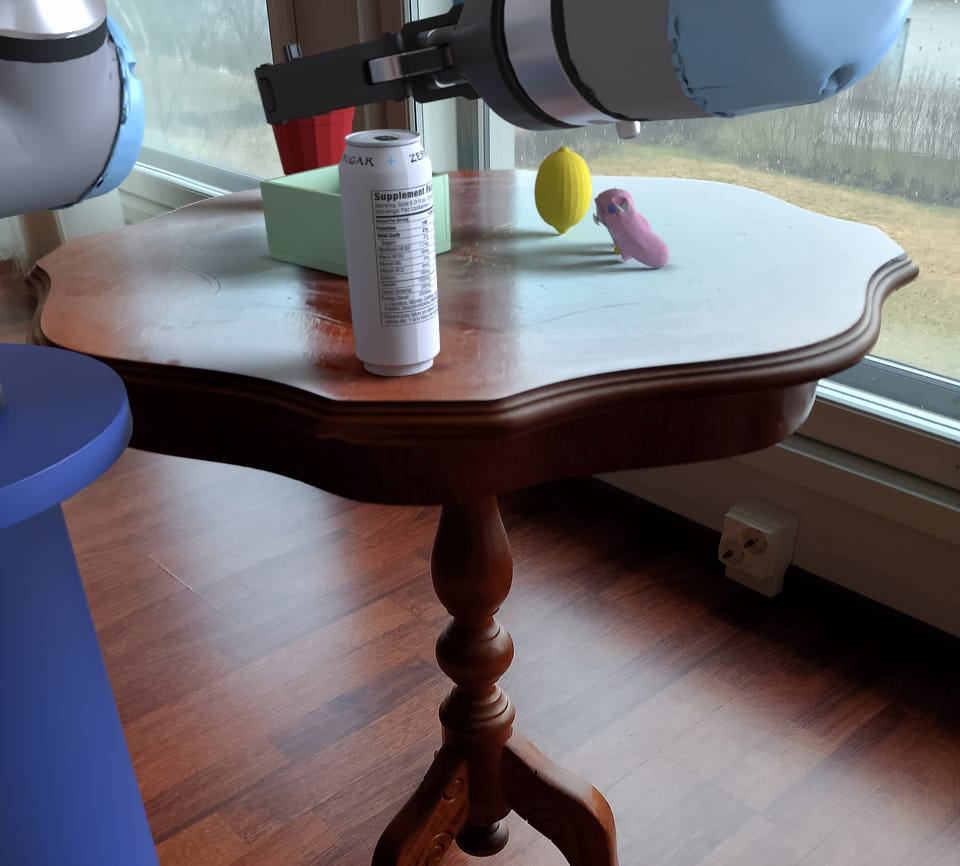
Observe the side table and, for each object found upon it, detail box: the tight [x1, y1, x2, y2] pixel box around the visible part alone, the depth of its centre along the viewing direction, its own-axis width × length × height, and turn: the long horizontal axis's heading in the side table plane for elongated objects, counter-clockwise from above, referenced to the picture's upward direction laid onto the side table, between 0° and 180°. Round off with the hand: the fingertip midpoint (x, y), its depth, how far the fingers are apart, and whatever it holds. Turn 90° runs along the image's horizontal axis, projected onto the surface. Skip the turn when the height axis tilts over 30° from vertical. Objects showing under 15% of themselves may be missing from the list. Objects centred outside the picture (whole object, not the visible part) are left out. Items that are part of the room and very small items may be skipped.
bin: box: [259, 164, 452, 278], centre depth 100 cm, size 12×12×7 cm
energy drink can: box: [338, 128, 441, 377], centre depth 72 cm, size 6×6×15 cm
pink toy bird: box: [592, 187, 671, 269], centre depth 97 cm, size 10×5×7 cm, turn 3°
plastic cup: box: [257, 88, 356, 176], centre depth 116 cm, size 11×11×12 cm
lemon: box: [533, 146, 593, 235], centre depth 104 cm, size 6×6×8 cm
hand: (391, 71), depth 62 cm, fingers open, 13 cm apart
